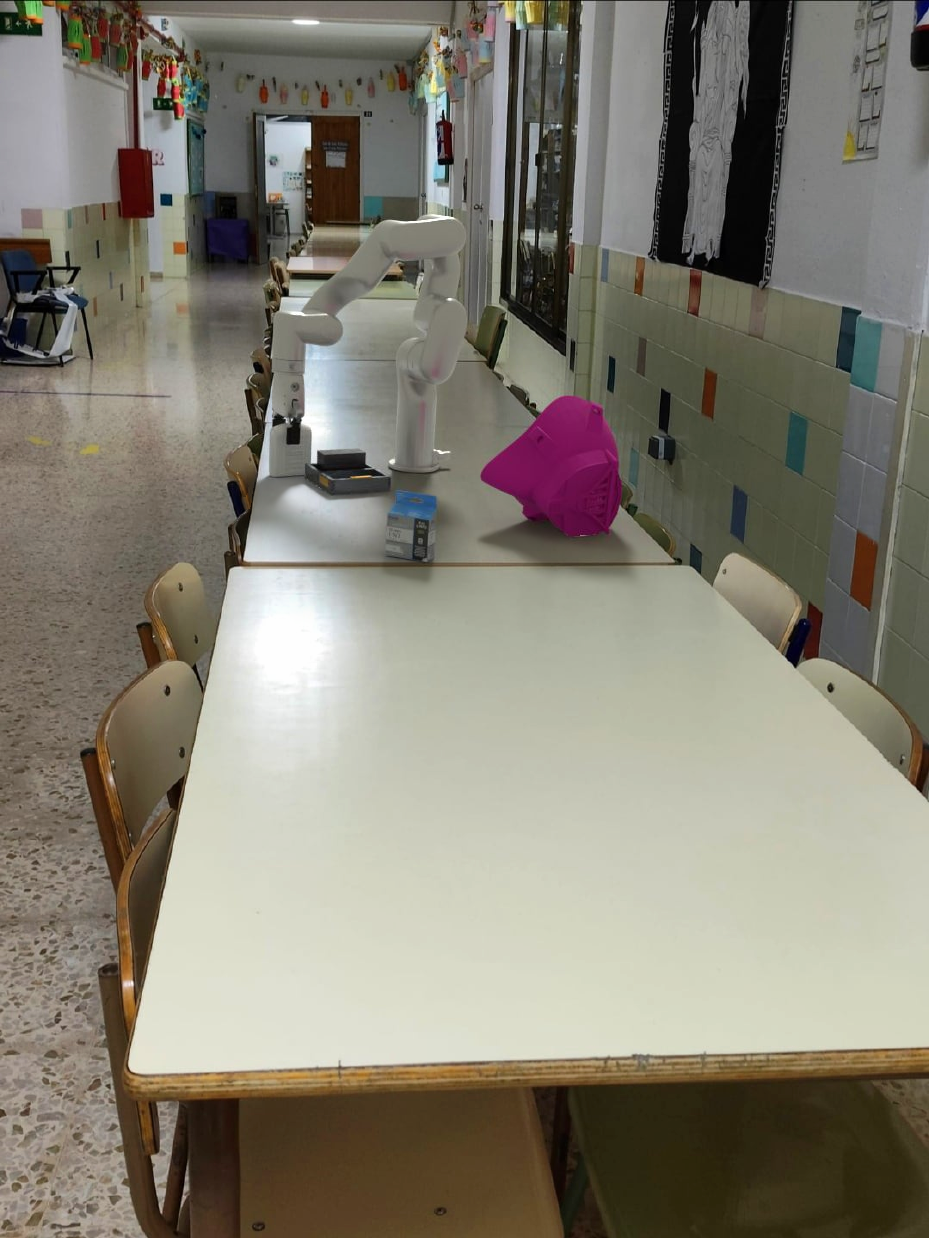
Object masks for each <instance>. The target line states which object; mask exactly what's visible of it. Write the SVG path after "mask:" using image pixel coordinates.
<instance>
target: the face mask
mask: <svg viewBox="0 0 929 1238" xmlns="http://www.w3.org/2000/svg"><path fill="white" fill-rule="evenodd" d="M619 470H620V458H619V449H618V446H617V442H616V439H615V436H614V434H613V431H612V428H610V426H609V423H608V421H607V419H606V418H605V417H604V408H603V407H602V405H601V404H599V403H596V402H594V401H592V400H590V401H587V400H586V399H583V398H582V397H579V396H577V395H576V396H575V395H571V394H570V395H567V394H566V395H562V396H559V397H557V398H556V399H554V400H553V401H552V402H550V403H549V404H548V405H547V406H546V407H545V408H544V409H543V410H542V411H541V413H540V414H539V415H538V416H537V417H536V419H535V420H534V421H533V422H532V423H531V425H530V426H529V427H528V428H527V429H526V430H525V431H524V432H523V433H522V434H521V435H520V436H519V437H518V438H516V439H515V440H514V441H512V442H511V444H509V445H508V446H507V447H505V448H504V449H503V450H502V451H500V452H498V454H497V455H495V456H494V457H493V458H492V459H491V460H490V461H489V462H487V463H486V465H485V466H484V467H483V468H482V470H481V473H480V480H481V482H483V483H484V484H487V485H488V486H490V487H492V488H494V489H496V490H498V491H500V492H503V493H505V494H507V495H509V496H511V497H514V498H515V500H516V501H517V502H518V503H519V504H520V505H522V512H521V514H522V515H523V516H524V517H525V518H526V519H528V520H529V521H530V522H532V523H537V522H544V521H550V523H551V524H552V525H553V526H554V527H555V528H557V529H558V530H559V531H561V532H562V533H563V534H564V535H566V536H567V537H571V538H574V537H573V536H580V535H591V536H595V535H599V534H600V533H604V534H606V535H607V536H608V535H609V536H610V535H611V530H610V528H611V526H612V525H613V522H614V520H615V519H616V518H617V515H618V514H619V509H620V504H621V501H622V496H623V494H622V493H623V482H622V478H621V476H620V474H619ZM594 534H595V535H594Z"/></svg>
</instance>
